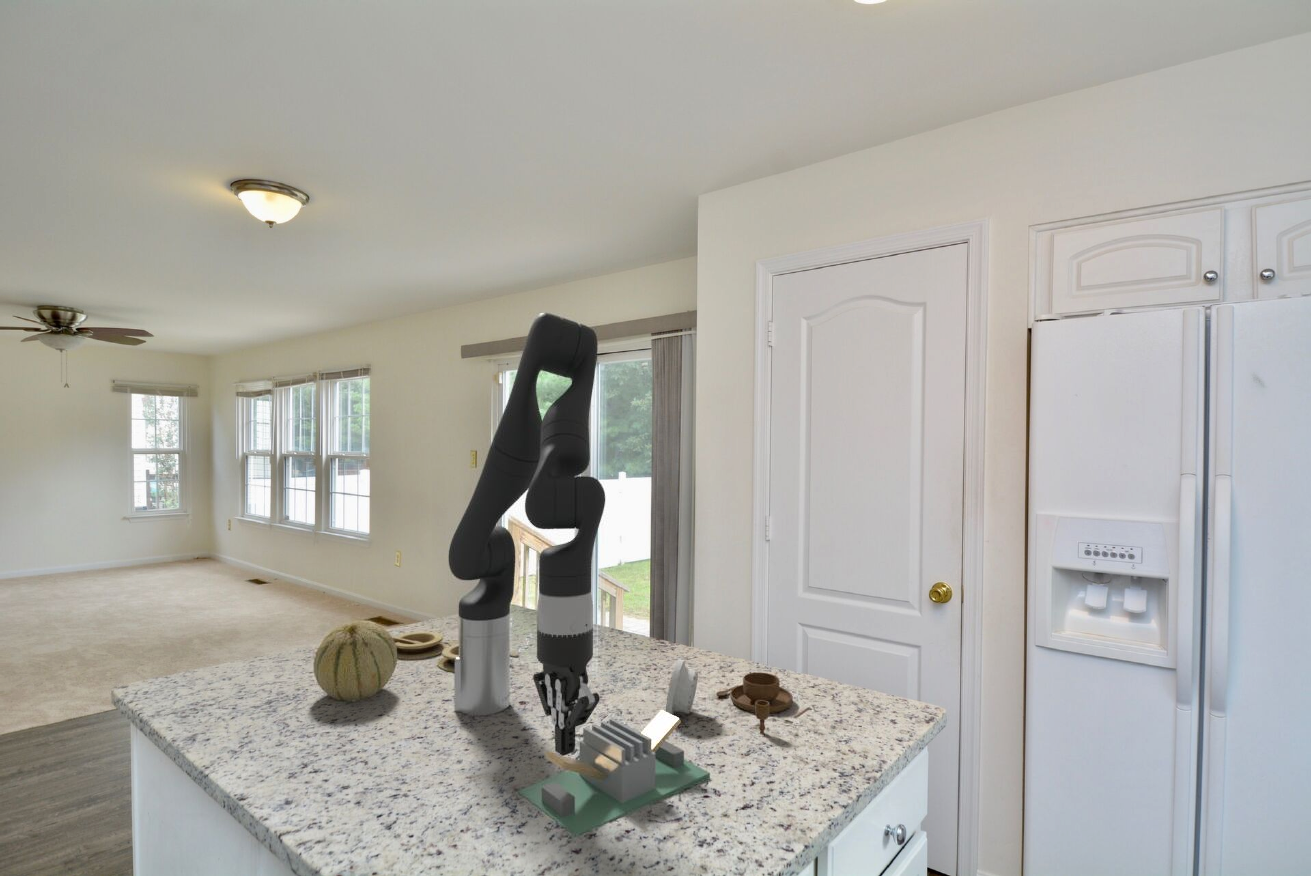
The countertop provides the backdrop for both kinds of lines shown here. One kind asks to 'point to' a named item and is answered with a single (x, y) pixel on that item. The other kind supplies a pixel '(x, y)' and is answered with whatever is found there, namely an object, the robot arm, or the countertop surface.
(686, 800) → the countertop surface
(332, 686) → the cantaloupe
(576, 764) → the left strap
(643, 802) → the board
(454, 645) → the tableware set
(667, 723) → the wooden block
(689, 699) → the mechanical component
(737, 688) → the place setting
